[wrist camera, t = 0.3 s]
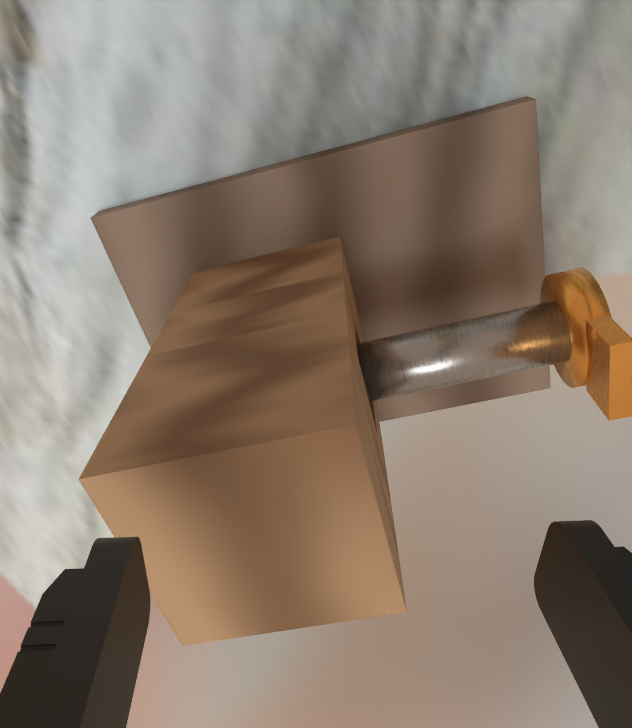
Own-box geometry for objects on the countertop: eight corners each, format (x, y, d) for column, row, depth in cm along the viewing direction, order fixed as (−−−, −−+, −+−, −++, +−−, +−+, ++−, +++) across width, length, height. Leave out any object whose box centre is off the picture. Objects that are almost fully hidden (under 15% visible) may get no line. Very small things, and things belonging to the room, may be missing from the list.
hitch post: (527, 96, 26) (794, 175, 11) (543, 377, 34) (714, 641, 19) (98, 211, 29) (-135, 392, 14) (204, 444, 37) (125, 718, 22)
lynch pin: (566, 251, 24) (641, 318, 18) (568, 346, 26) (636, 432, 21) (286, 315, 26) (276, 395, 20) (313, 399, 28) (310, 491, 22)
